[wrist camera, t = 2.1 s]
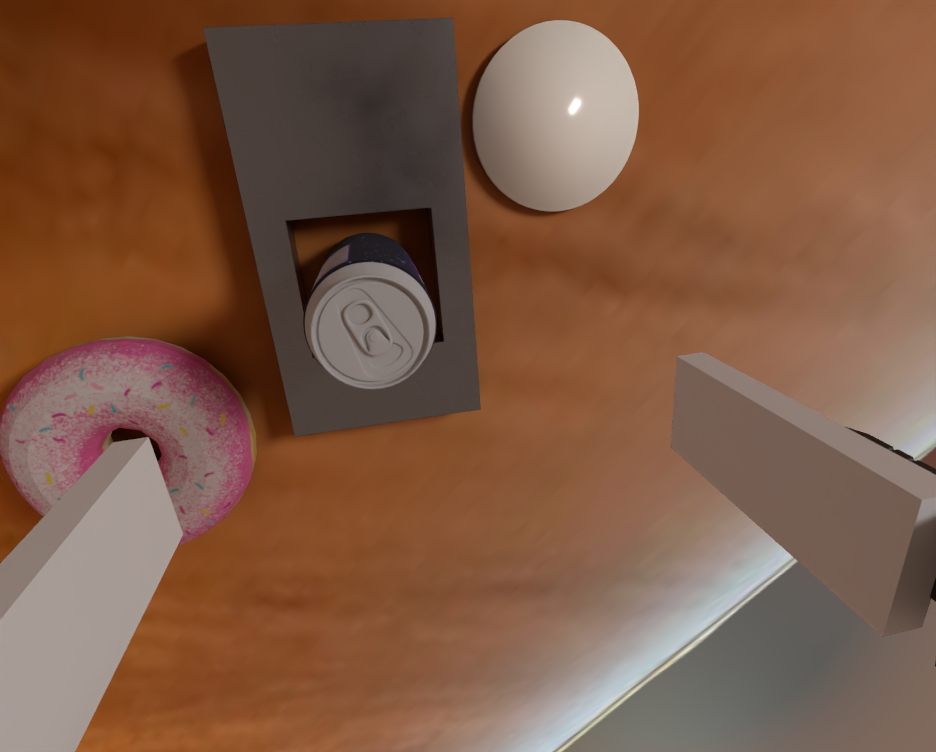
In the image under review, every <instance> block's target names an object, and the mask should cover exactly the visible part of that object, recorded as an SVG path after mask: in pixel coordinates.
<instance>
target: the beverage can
mask: <svg viewBox="0 0 936 752" xmlns="http://www.w3.org/2000/svg"><path fill="white" fill-rule="evenodd" d="M303 328H304V335H305V339H306V342H307V345H308V347H309V349H310V351H311V353H312V354H313V356H314V358H315V359H316V360H317V362H318V363H319V364H320V365H321V366H322V367H323V368H324V369H325V370H326V371H327V372H328V373H330V374H331V375H332V376H333V377H335V378H336V379H337V380H339V381H341V382H343V383H345V384H347V385H350V386H353V387H357V388H362V389H381V388H386V387H390V386H393V385H395V384H398V383H400V382H402V381H403V380H405V379H407V378H408V377H409V376H410V375H412V374H413V373H414V372H415V371H416V370H417V369H418V368H419V367H420V366H421V364H422V363H423V362H424V361H425V359H426V358H427V356H428V355H429V353H430V351H431V349H432V347H433V344H434V341H435V337H436V331H437V317H436V311H435V307H434V304H433V301H432V299H431V297H430V295H429V293H428V291H427V289H426V287H425V285H424V283H423V281H422V279H421V277H420V275H419V273H418V271H417V269H416V267H415V265H414V263H413V261H412V259H411V258H410V256H409V254H408V253H407V252H406V251H405V249H404V248H403V247H402V246H400V245H399V244H398V243H397V242H395V241H394V240H392V239H390V238H388V237H386V236H383V235H379V234H374V233H361V234H356V235H352V236H350V237H347V238H345V239H344V240H342V241H340V242H339V243H338V244H337V245H335V246H334V248H333V249H332V250H331V251H330V252H329V254H328V255H327V257H326V259H325V261H324V264H323V266H322V268H321V270H320V273H319V275H318V277H317V279H316V281H315V284H314V286H313V288H312V290H311V293H310V295H309V297H308V300H307V302H306V305H305V309H304V316H303Z"/></svg>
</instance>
